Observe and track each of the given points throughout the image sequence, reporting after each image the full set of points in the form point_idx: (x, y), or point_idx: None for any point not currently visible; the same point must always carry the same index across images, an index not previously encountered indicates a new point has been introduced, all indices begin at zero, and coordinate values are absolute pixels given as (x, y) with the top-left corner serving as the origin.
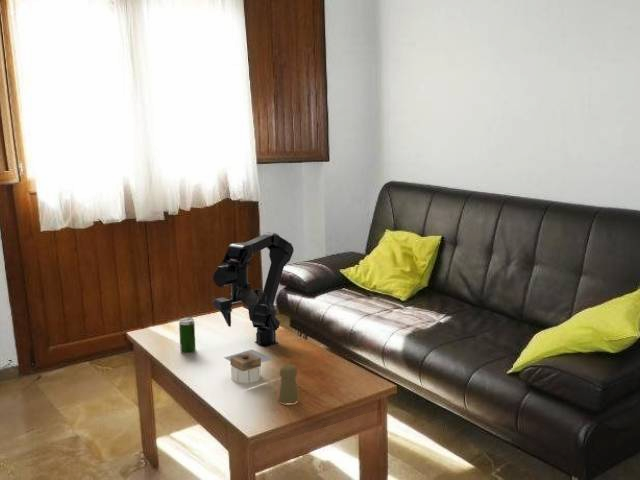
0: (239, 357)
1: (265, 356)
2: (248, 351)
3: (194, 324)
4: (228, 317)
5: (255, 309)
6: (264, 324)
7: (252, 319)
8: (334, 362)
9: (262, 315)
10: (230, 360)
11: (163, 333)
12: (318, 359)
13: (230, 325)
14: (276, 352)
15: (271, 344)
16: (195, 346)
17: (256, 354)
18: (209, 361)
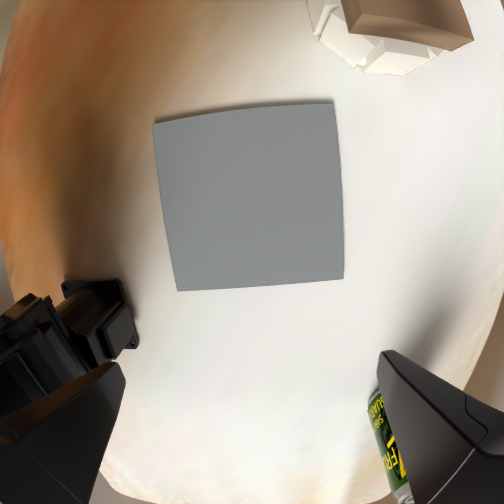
0: (435, 1)
1: (163, 170)
2: (204, 278)
3: (404, 475)
4: (476, 403)
5: (20, 417)
6: (53, 330)
7: (103, 367)
8: (25, 26)
9: (26, 374)
10: (464, 44)
11: (338, 493)
12: (33, 60)
13: (391, 354)
14: (98, 201)
15: (87, 282)
16: (375, 406)
17: (188, 220)
18: (402, 285)
